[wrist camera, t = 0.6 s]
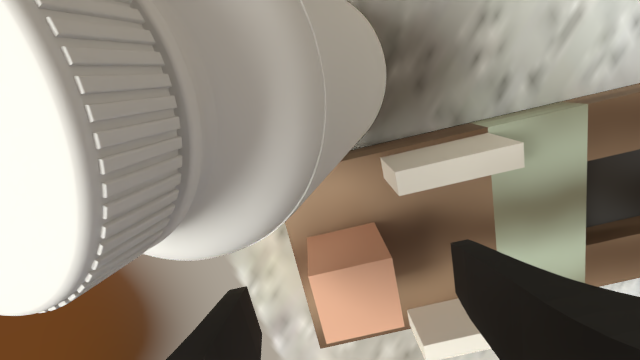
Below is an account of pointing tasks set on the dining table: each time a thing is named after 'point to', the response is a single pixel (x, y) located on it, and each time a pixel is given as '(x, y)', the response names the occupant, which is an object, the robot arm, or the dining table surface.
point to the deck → (498, 202)
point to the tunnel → (435, 171)
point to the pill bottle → (167, 129)
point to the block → (353, 283)
